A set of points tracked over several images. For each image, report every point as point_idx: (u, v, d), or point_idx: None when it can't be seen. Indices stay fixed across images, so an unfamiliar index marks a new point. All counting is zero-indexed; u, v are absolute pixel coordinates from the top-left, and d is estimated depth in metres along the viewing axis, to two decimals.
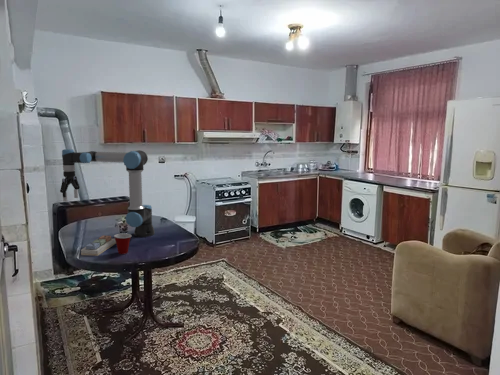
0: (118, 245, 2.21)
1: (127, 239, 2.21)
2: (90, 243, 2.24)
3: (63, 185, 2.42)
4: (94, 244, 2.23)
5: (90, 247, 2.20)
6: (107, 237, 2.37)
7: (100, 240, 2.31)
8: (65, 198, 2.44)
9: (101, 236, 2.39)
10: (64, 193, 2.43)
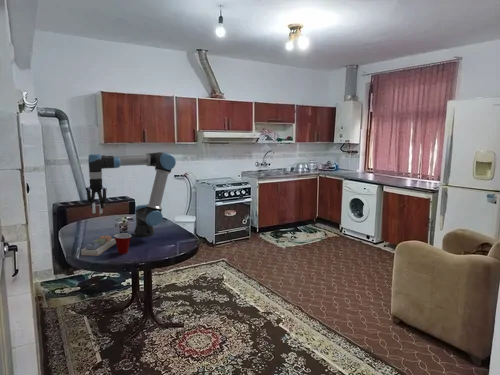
0: (118, 245, 2.21)
1: (127, 239, 2.21)
2: (90, 243, 2.24)
3: None
4: (94, 244, 2.23)
5: (90, 247, 2.20)
6: (107, 237, 2.37)
7: (100, 240, 2.31)
8: None
9: (101, 236, 2.39)
10: None
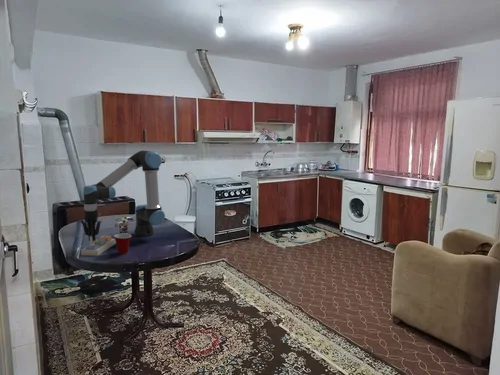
0: (118, 245, 2.21)
1: (127, 239, 2.21)
2: None
3: None
4: (94, 246, 2.23)
5: (90, 249, 2.20)
6: (107, 237, 2.37)
7: (100, 240, 2.31)
8: None
9: (101, 236, 2.39)
10: None
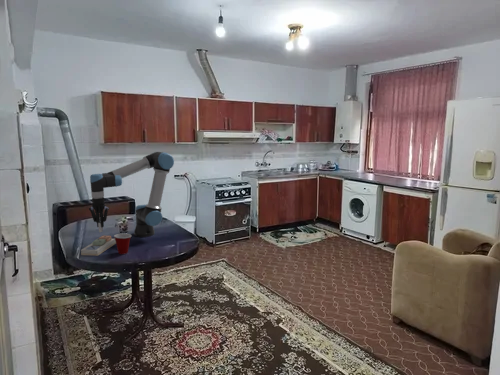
0: (118, 245, 2.21)
1: (127, 239, 2.21)
2: (90, 246, 2.25)
3: None
4: (94, 247, 2.23)
5: None
6: (107, 237, 2.37)
7: (100, 240, 2.31)
8: None
9: (101, 236, 2.39)
10: (97, 223, 2.30)
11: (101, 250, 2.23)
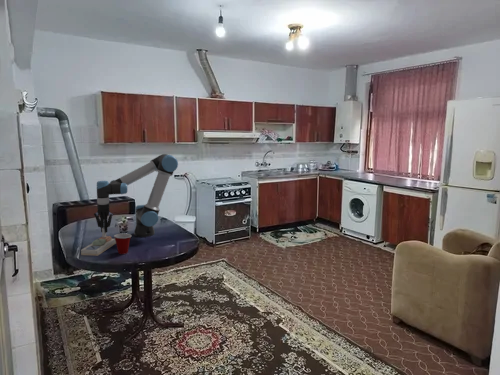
0: (118, 245, 2.21)
1: (127, 239, 2.21)
2: (90, 246, 2.25)
3: None
4: (94, 247, 2.23)
5: None
6: (107, 238, 2.37)
7: (100, 240, 2.31)
8: None
9: (101, 237, 2.39)
10: (101, 228, 2.37)
11: (101, 250, 2.23)
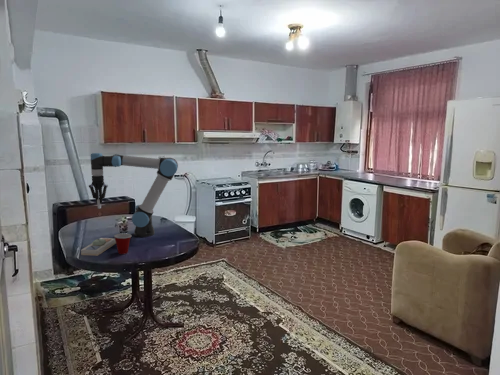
0: (118, 245, 2.21)
1: (127, 239, 2.21)
2: (90, 246, 2.25)
3: None
4: (94, 247, 2.23)
5: None
6: (107, 240, 2.38)
7: (100, 240, 2.31)
8: None
9: None
10: (96, 199, 2.43)
11: (101, 250, 2.23)
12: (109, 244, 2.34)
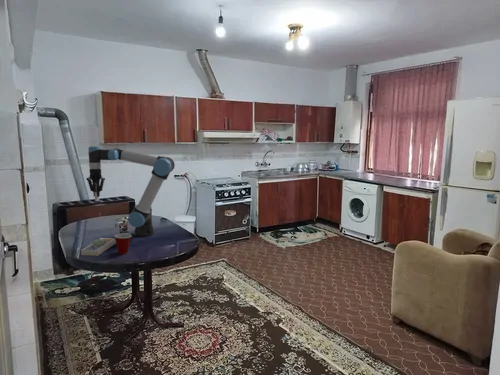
0: (118, 245, 2.21)
1: (127, 239, 2.21)
2: (90, 246, 2.25)
3: None
4: (94, 247, 2.23)
5: None
6: (107, 240, 2.38)
7: (100, 240, 2.31)
8: None
9: None
10: (93, 192, 2.46)
11: (101, 250, 2.23)
12: (109, 244, 2.34)
